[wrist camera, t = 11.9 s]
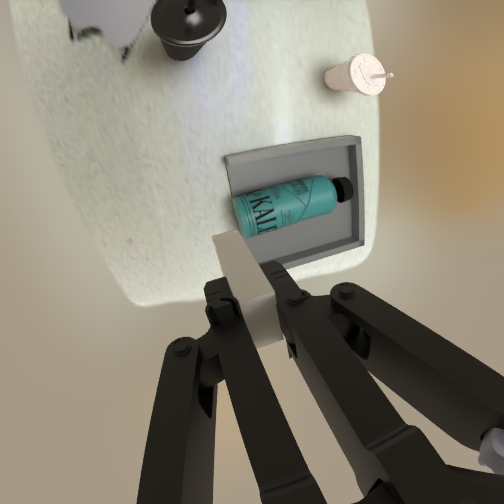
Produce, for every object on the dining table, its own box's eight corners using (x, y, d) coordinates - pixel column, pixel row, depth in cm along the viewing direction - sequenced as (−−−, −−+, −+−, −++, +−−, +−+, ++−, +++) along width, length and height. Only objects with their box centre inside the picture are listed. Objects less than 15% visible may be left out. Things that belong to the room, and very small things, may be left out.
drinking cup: (173, 79, 35) (176, 42, 17) (146, 41, 31) (130, -18, 14) (218, 53, 35) (258, 3, 17) (192, 16, 31) (212, -53, 13)
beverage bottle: (224, 215, 46) (334, 183, 49) (237, 251, 44) (352, 214, 47) (220, 190, 40) (343, 159, 43) (235, 229, 38) (364, 191, 41)
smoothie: (338, 104, 42) (394, 105, 30) (309, 81, 40) (361, 71, 27) (355, 78, 41) (412, 73, 29) (328, 54, 38) (382, 39, 26)
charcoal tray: (224, 155, 42) (228, 158, 39) (350, 135, 45) (360, 136, 43) (247, 271, 51) (251, 279, 48) (355, 238, 55) (364, 245, 52)
